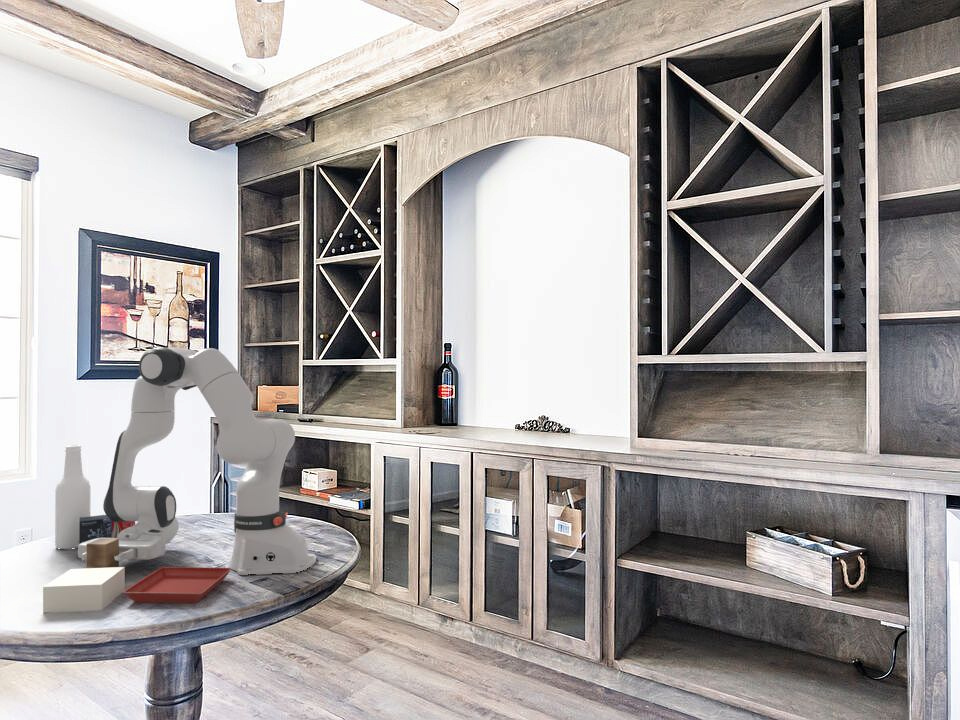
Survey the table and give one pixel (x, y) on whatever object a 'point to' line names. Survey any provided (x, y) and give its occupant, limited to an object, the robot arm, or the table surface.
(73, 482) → the white bottle
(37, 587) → the table surface
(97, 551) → the walnut block
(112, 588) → the plinth
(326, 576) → the table surface
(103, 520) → the box
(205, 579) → the plant saucer
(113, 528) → the soda can
